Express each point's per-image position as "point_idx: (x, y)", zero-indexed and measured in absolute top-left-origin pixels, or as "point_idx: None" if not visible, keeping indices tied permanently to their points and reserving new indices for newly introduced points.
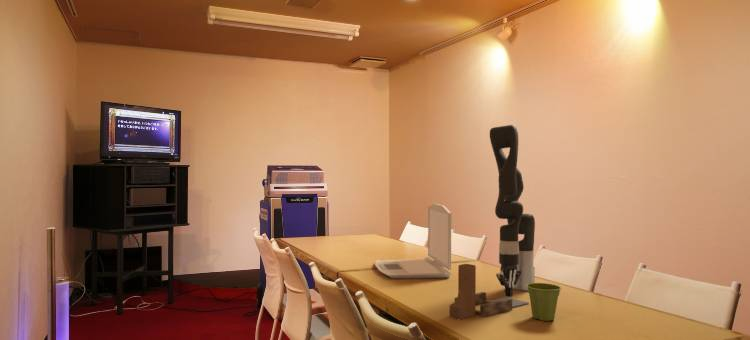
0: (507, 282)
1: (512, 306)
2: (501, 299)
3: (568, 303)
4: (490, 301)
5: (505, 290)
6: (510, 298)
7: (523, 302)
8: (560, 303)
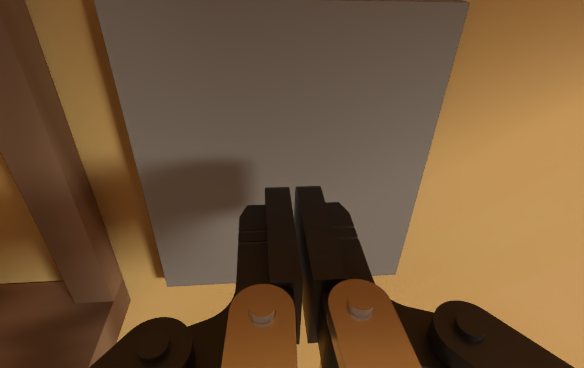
0: (339, 355)
1: (172, 284)
2: (297, 63)
3: (577, 346)
4: (12, 109)
5: (238, 259)
6: (426, 99)
7: (366, 255)
8: (552, 332)
